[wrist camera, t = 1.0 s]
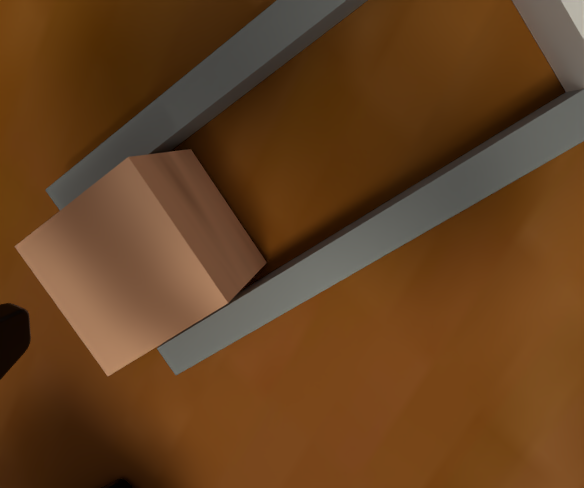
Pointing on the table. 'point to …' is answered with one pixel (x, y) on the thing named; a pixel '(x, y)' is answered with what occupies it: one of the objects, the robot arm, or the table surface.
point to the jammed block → (142, 256)
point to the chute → (376, 224)
